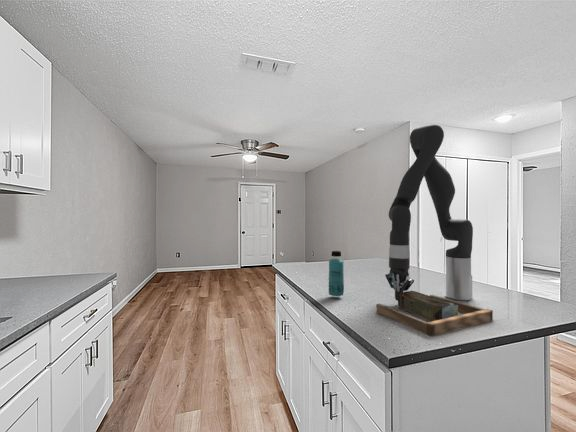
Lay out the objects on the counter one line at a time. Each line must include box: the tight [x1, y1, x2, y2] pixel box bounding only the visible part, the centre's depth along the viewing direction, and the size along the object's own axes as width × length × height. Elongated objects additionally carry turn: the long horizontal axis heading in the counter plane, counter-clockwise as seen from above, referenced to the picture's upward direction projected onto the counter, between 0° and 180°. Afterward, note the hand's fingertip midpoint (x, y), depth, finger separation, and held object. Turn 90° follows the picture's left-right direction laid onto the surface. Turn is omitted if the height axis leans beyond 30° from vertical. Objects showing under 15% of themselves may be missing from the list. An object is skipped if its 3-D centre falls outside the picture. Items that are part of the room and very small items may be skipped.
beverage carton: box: [397, 290, 459, 322], centre depth 99 cm, size 8×19×7 cm, turn 24°
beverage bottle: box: [327, 250, 345, 297], centre depth 120 cm, size 6×7×20 cm
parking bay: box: [376, 294, 494, 337], centre depth 97 cm, size 29×22×3 cm
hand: (398, 300), depth 110 cm, fingers closed
